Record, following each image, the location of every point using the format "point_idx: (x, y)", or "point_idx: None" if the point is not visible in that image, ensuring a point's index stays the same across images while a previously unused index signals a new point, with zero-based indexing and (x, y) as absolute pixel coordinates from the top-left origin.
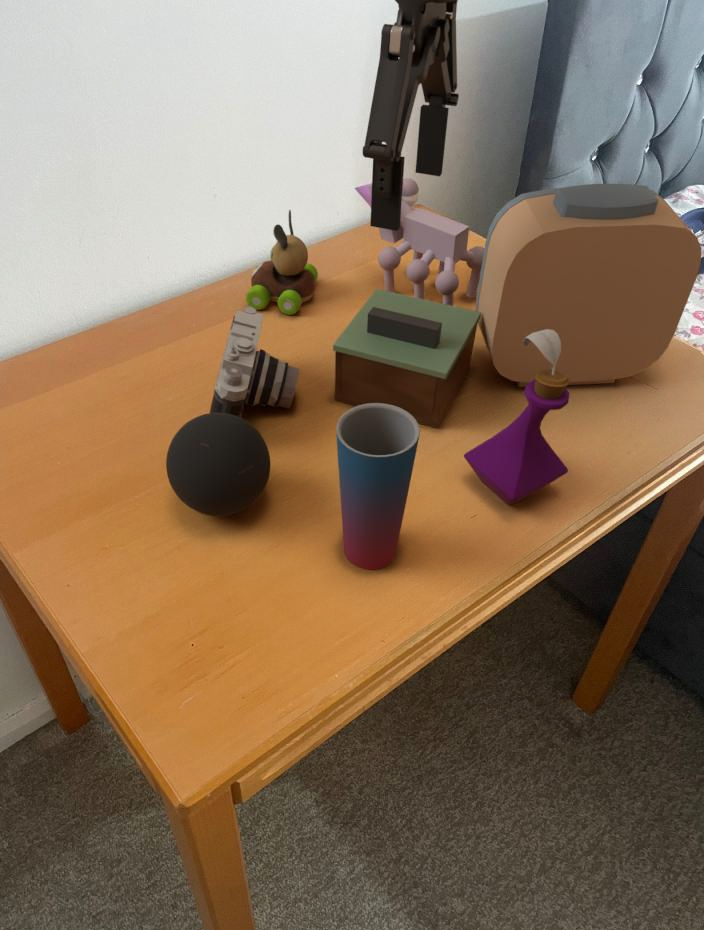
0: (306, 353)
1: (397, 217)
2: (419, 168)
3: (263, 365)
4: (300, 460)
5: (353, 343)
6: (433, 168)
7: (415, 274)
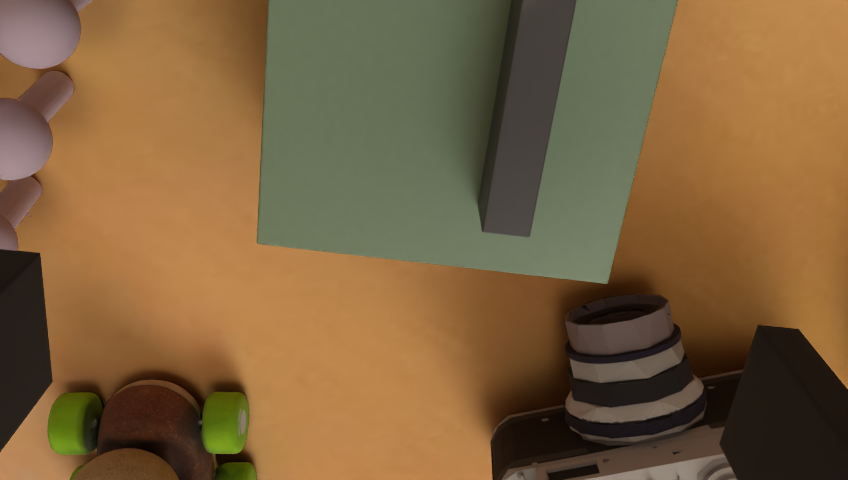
0: (393, 318)
1: (829, 371)
2: (36, 378)
3: (674, 410)
4: (806, 215)
5: (589, 233)
6: (23, 311)
7: (43, 142)
